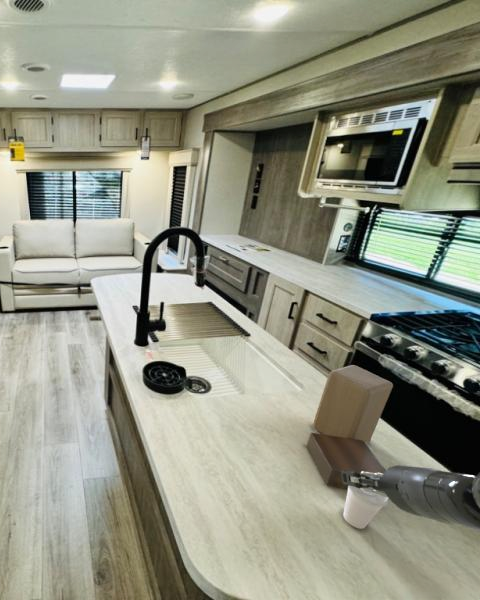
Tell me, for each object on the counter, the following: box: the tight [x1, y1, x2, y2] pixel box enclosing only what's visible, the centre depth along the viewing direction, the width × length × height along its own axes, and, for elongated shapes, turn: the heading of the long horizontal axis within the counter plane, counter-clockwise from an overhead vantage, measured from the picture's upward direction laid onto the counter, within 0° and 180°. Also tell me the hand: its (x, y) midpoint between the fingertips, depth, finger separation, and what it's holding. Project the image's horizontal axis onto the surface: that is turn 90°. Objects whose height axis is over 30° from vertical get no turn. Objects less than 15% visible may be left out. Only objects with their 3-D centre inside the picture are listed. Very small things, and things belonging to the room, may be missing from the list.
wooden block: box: [312, 364, 394, 444], centre depth 86 cm, size 10×10×20 cm
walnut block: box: [306, 432, 386, 490], centre depth 78 cm, size 12×12×5 cm
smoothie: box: [342, 476, 390, 530], centre depth 65 cm, size 6×6×14 cm
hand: (363, 480), depth 66 cm, fingers closed on smoothie, 6 cm apart
